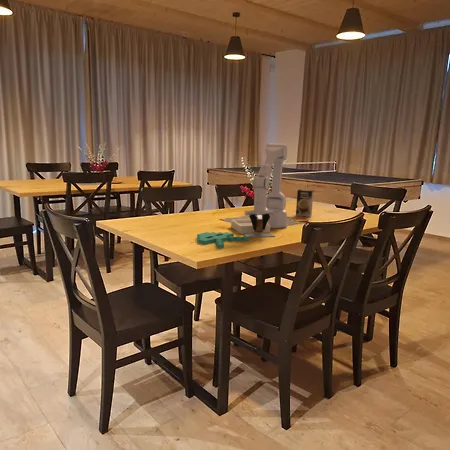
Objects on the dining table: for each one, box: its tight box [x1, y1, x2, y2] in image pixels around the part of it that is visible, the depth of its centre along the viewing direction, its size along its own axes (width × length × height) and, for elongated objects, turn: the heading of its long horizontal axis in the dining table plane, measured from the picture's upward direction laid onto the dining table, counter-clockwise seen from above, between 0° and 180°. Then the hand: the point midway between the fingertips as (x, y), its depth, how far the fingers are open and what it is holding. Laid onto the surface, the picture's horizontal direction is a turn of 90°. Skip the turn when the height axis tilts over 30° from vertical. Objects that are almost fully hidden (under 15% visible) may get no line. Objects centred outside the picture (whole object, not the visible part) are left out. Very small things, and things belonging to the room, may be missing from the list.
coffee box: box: [295, 188, 315, 218], centre depth 253 cm, size 9×6×16 cm
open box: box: [230, 218, 271, 235], centre depth 210 cm, size 16×16×4 cm
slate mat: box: [242, 232, 276, 239], centre depth 199 cm, size 14×7×1 cm, turn 106°
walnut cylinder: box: [255, 218, 263, 233], centre depth 198 cm, size 4×4×6 cm
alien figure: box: [196, 231, 250, 250], centre depth 187 cm, size 20×2×20 cm
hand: (258, 229), depth 198 cm, fingers closed on walnut cylinder, 4 cm apart
